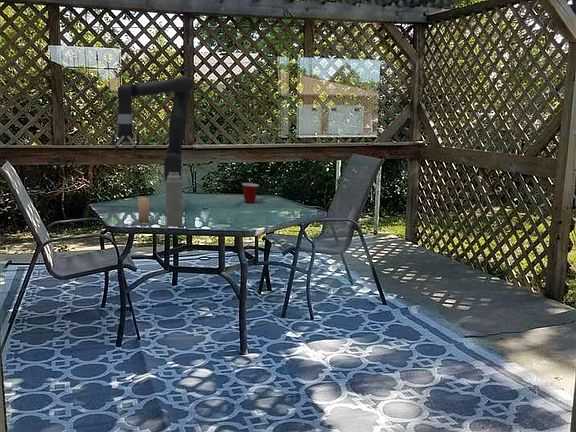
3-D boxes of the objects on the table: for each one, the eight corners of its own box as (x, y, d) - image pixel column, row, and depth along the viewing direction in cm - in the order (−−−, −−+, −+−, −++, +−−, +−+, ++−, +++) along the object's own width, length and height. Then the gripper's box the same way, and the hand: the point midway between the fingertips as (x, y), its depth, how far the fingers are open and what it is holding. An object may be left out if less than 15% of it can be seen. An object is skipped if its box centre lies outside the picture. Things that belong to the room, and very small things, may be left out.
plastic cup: (258, 204, 379) (258, 185, 377) (240, 204, 379) (240, 184, 377) (259, 201, 390) (259, 182, 388) (242, 201, 390) (242, 182, 388)
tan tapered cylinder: (148, 220, 317) (148, 197, 315) (149, 222, 312) (149, 198, 310) (138, 220, 315) (137, 197, 313) (139, 222, 310) (138, 199, 308)
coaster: (154, 220, 321) (154, 219, 321) (157, 224, 310) (157, 223, 310) (130, 221, 317) (130, 220, 317) (132, 225, 306) (132, 224, 306)
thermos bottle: (167, 223, 314) (166, 168, 309) (183, 223, 314) (183, 168, 309) (165, 226, 306) (164, 170, 301) (181, 226, 306) (180, 170, 301)
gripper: (111, 122, 323) (112, 153, 326) (139, 123, 328) (140, 153, 331) (110, 122, 330) (111, 152, 333) (138, 122, 335) (138, 152, 338)
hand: (126, 153), depth 332 cm, fingers open, 8 cm apart
